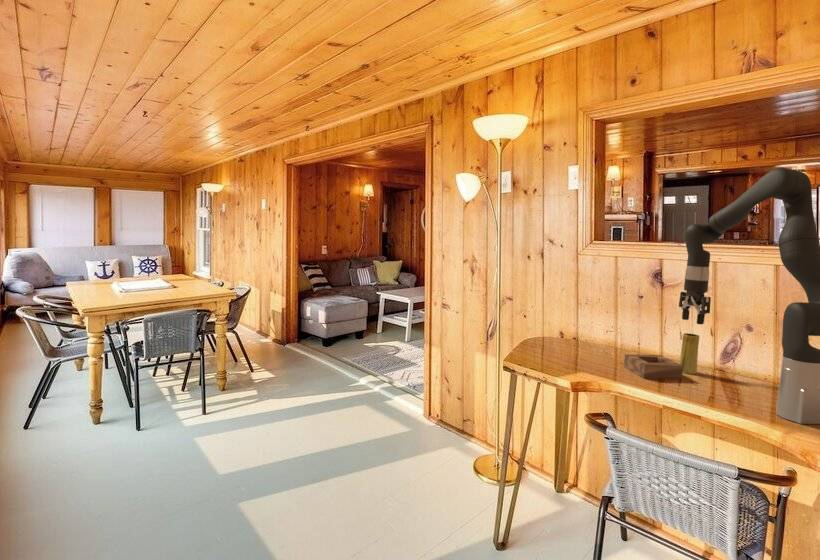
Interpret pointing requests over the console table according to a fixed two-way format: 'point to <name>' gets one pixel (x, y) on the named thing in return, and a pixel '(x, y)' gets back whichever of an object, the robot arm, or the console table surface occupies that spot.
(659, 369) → the bore block
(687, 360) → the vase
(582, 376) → the console table surface
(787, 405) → the robot arm
